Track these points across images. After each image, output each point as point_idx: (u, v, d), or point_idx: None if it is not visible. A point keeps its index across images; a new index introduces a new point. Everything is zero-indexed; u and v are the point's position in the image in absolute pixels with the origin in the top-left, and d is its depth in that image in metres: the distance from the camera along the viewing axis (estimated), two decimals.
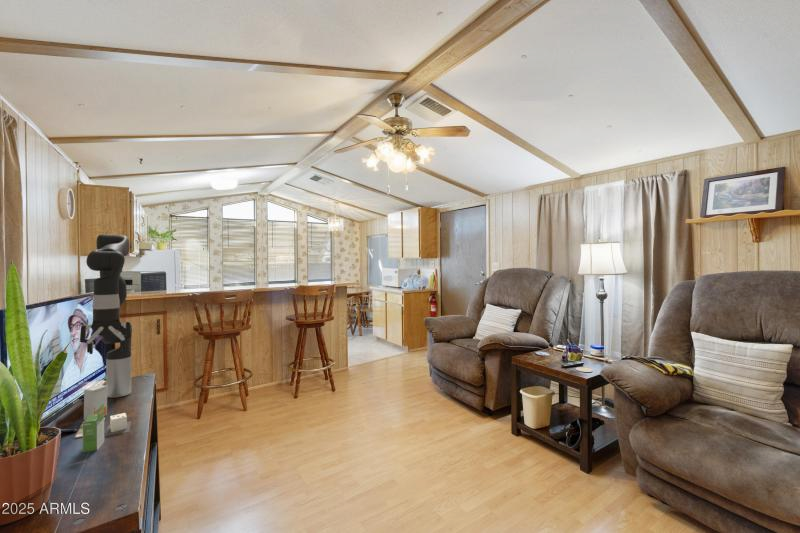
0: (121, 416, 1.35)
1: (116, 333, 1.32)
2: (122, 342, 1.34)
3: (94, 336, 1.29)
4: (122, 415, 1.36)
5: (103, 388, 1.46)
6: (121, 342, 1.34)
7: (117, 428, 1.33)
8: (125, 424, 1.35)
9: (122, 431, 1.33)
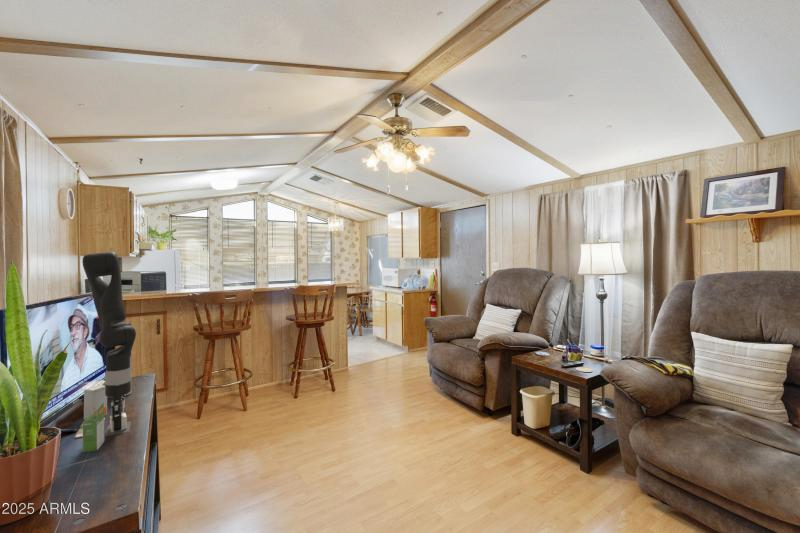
0: None
1: (124, 405, 1.38)
2: None
3: (123, 410, 1.34)
4: (122, 415, 1.36)
5: (103, 388, 1.46)
6: None
7: None
8: (125, 424, 1.35)
9: (122, 431, 1.33)
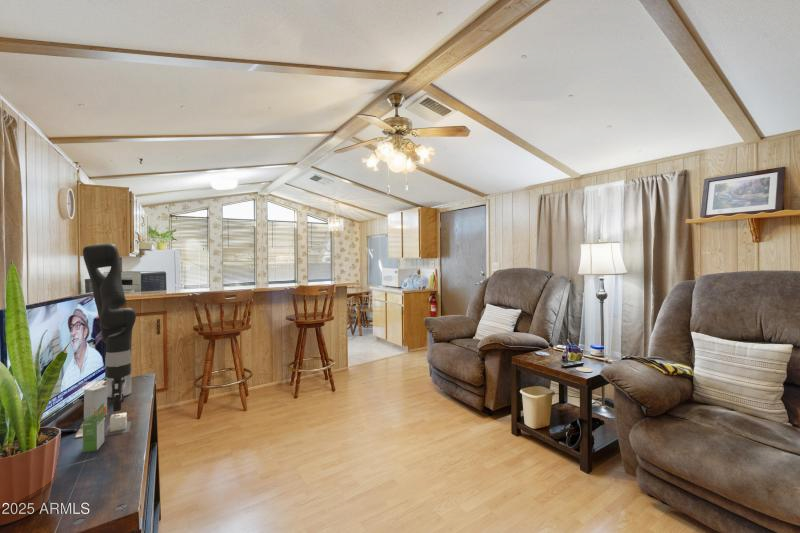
0: (121, 415, 1.35)
1: (125, 385, 1.39)
2: None
3: (123, 391, 1.34)
4: (122, 415, 1.36)
5: (103, 388, 1.46)
6: (123, 394, 1.40)
7: (116, 428, 1.33)
8: (124, 424, 1.35)
9: (122, 431, 1.33)
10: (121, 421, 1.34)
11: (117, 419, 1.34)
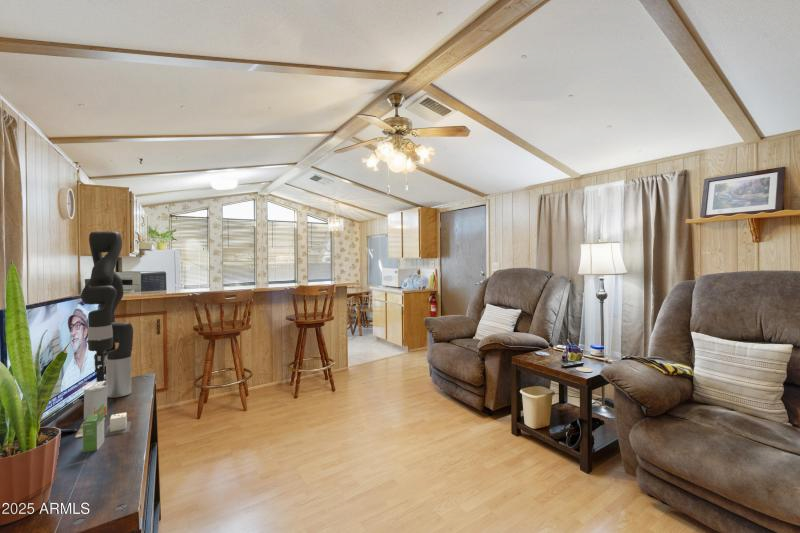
0: (121, 415, 1.35)
1: (107, 358, 1.47)
2: None
3: (106, 363, 1.42)
4: (122, 415, 1.36)
5: (103, 388, 1.46)
6: (106, 366, 1.48)
7: (116, 428, 1.33)
8: (124, 424, 1.35)
9: (122, 431, 1.33)
10: (121, 421, 1.34)
11: (117, 419, 1.34)
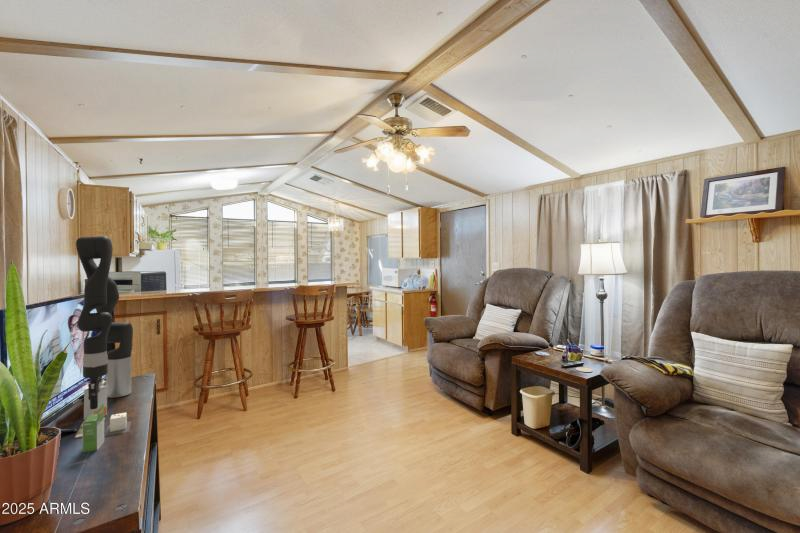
0: (121, 415, 1.35)
1: None
2: None
3: (99, 390, 1.43)
4: (122, 415, 1.36)
5: (103, 388, 1.46)
6: None
7: (116, 428, 1.33)
8: (124, 424, 1.35)
9: (122, 431, 1.33)
10: (121, 421, 1.34)
11: (117, 419, 1.34)
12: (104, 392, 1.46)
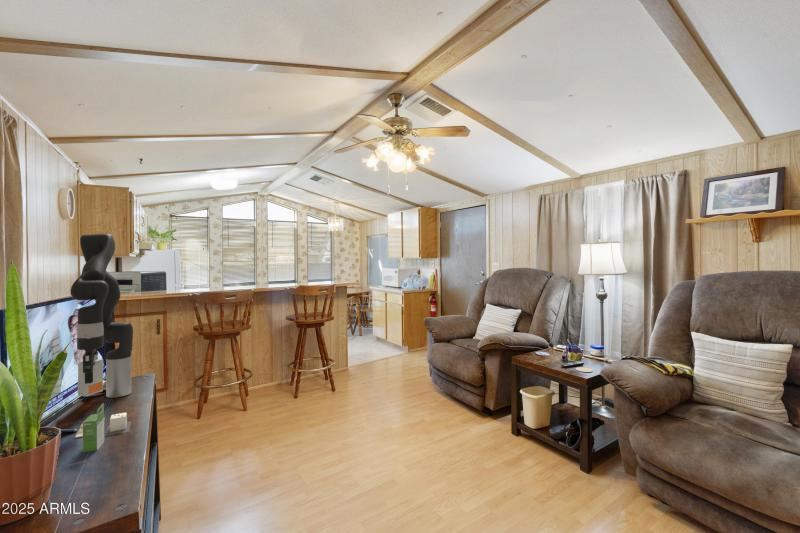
0: (121, 415, 1.35)
1: None
2: None
3: (95, 363, 1.33)
4: (122, 415, 1.36)
5: (99, 362, 1.36)
6: None
7: (116, 428, 1.33)
8: (124, 424, 1.35)
9: (122, 431, 1.33)
10: (121, 421, 1.34)
11: (117, 419, 1.34)
12: (100, 366, 1.36)
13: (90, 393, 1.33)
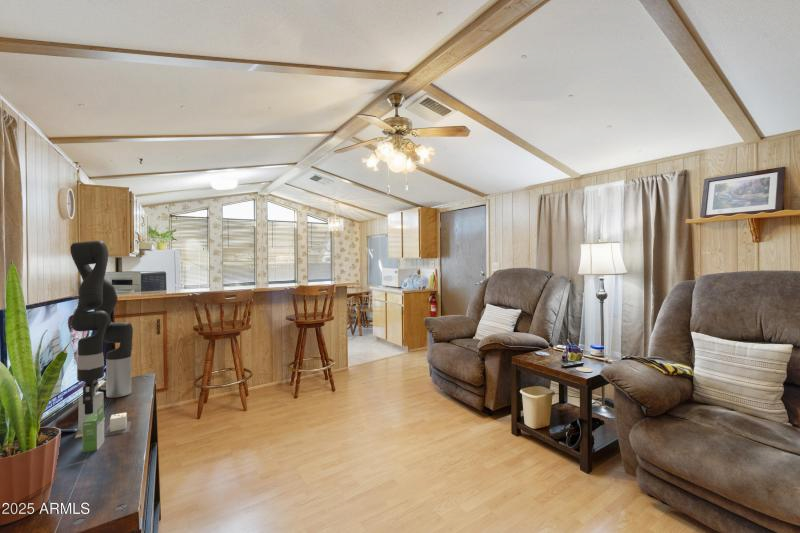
0: (121, 415, 1.35)
1: None
2: None
3: (95, 394, 1.33)
4: (122, 415, 1.36)
5: (99, 395, 1.36)
6: None
7: (116, 428, 1.33)
8: (124, 424, 1.35)
9: (122, 431, 1.33)
10: (121, 421, 1.34)
11: (117, 419, 1.34)
12: (100, 399, 1.37)
13: None
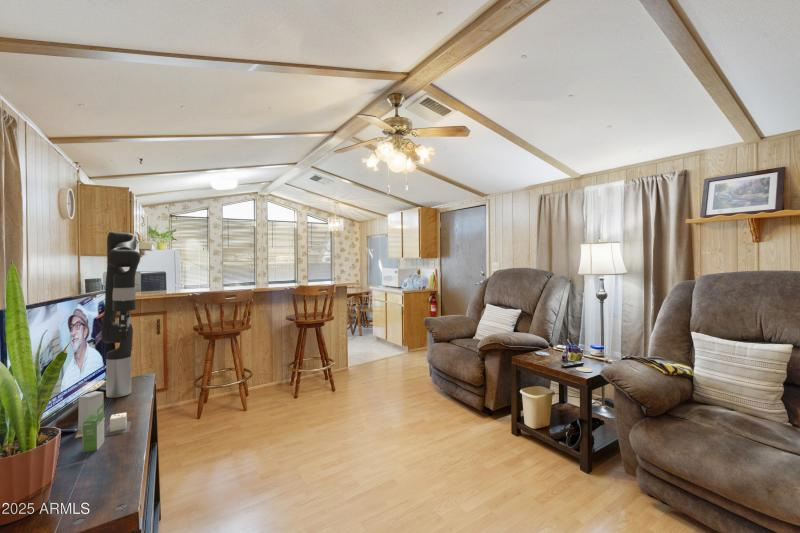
0: (121, 415, 1.35)
1: None
2: None
3: (128, 324, 1.48)
4: (122, 415, 1.36)
5: (99, 395, 1.36)
6: (128, 328, 1.54)
7: (116, 428, 1.33)
8: (124, 424, 1.35)
9: (122, 431, 1.33)
10: (121, 421, 1.34)
11: (117, 419, 1.34)
12: (100, 399, 1.37)
13: None
